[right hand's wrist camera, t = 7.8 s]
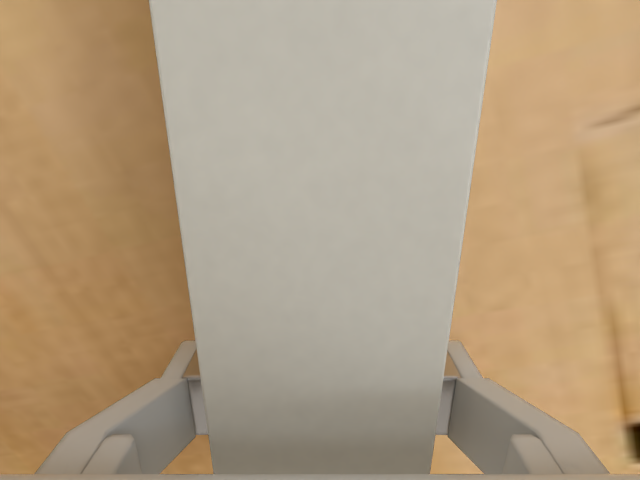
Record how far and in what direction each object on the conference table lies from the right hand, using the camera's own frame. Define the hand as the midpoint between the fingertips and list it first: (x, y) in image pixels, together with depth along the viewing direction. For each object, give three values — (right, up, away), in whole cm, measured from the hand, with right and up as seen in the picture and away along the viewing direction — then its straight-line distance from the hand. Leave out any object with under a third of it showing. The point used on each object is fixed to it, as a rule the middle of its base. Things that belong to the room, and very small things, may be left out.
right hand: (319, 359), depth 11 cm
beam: (0, +27, -7) cm, 27 cm away
